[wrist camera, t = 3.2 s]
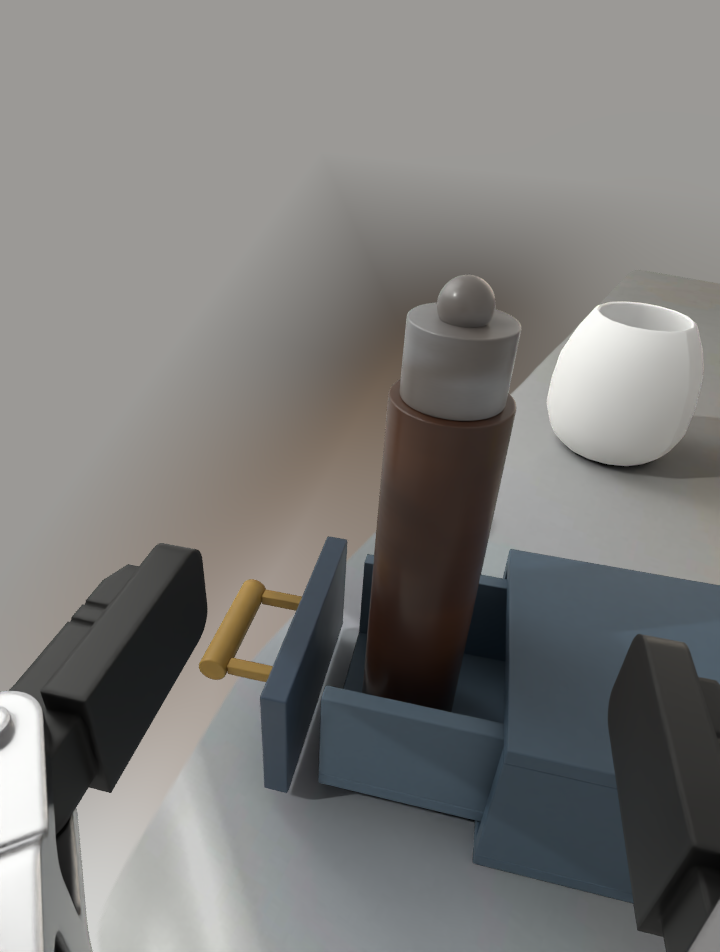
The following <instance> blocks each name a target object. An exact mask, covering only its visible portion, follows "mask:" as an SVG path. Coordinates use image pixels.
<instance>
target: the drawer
mask: <svg viewBox="0 0 720 952" xmlns="http://www.w3.org/2000/svg"><path fill="white" fill-rule="evenodd" d="M346 555H347V540H346V539H340V538H335V537H327V540H326V541H325V544H324V546H323V549H322V551H321V553H320V556H319V558H318V560H317V563H316V565H315V568H314V570H313V572H312V575H311V578H310V579H309V582H308V584H307V587H306V589H305V591H304V594H303V596H302V597H301V596H296V595H290V594H286V593H281V592H275V591H270V590H266V588H265V586H264V585H263V584H262V583H261V582H259V581H257V580H253V579H252V580H251V579H250V580H247V581H245V582H244V583H243V585H242V587H241V589H240V591H239V593H238V594H237V596H236V598H235V600H234V601H233V603H232V605H231V607H230V609H229V611H228V612H227V614H226V616H225V618H224V620H223V621H222V623H221V625H220V627H219V629H218V630H217V633H216V634H215V636H214V638H213V640H212V641H211V643H210V645H209V647H208V649H207V650H206V652H205V654H204V656H203V658H202V659H201V662H200V663H199V669H200V671H201V672H202V674H204V675H205V676H206V677H208V678H210V679H214V680H219V679H222V678H223V677H225V675H226V673H227V671H228V674H232V675H236V676H240V677H245V678H249V679H254V680H259V681H263V682H266V684H265V686H264V689H263V691H262V693H261V696H260V705H261V726H262V746H263V767H264V787H265V788H268V789H272V790H277V791H281V792H285V793H287V792H288V790H289V787H290V784H291V781H292V778H293V775H294V772H295V769H296V766H297V763H298V760H299V756H300V753H301V750H302V747H303V744H304V741H305V738H306V735H307V732H308V729H309V726H310V723H311V720H312V716H313V713H314V710H315V707H316V704H317V701H318V698H319V695H320V692H321V689H322V686H323V683H324V679H325V676H326V673H327V670H328V667H329V664H330V661H331V658H332V655H333V652H334V649H335V646H336V642H337V639H338V636H339V633H340V630H341V627H342V624H343V609H344V591H345V574H346ZM373 564H374V555H370V554H367V557H366V560H365V564H364V577H363V590H362V602H361V615H360V628H359V635H358V638H357V642H356V645H355V649H354V652H353V656H352V659H351V663H350V666H349V670H348V673H347V677H346V680H345V683H344V687H343V689H341V688H336V687H332V686H325V688H324V692H323V695H322V698H321V718H320V747H319V777H318V781H319V783H322V784H326V785H331V786H335V787H339V788H343V789H347V790H351V791H356V792H360V793H364V794H368V795H372V796H376V797H381V798H385V799H389V800H393V801H397V802H401V803H405V804H410V805H414V806H418V807H422V808H426V809H430V810H435V811H439V812H443V813H447V814H451V815H455V816H460V817H464V818H468V819H472V820H476V821H480V822H481V820H482V817H483V814H484V810H485V807H486V804H487V800H488V797H489V794H490V790H491V787H492V784H493V780H494V777H495V774H496V770H497V767H498V764H499V761H500V757H501V754H502V751H503V748H504V716H505V663H506V610H507V579H502V578H496V577H491V576H486V575H481V576H480V581H479V585H478V590H477V595H476V599H475V604H474V609H473V613H472V618H471V623H470V627H469V632H468V637H467V641H466V646H465V651H464V655H463V660H462V665H461V669H460V674H459V679H458V683H457V688H456V693H455V697H454V702H453V707H452V711H451V712H447V711H443V710H438V709H434V708H429V707H424V706H420V705H415V704H410V703H406V702H401V701H397V700H392V699H387V698H383V697H378V696H373V695H369V694H364V693H362V688H363V677H364V666H365V654H366V643H367V632H368V620H369V609H370V598H371V587H372V575H373ZM261 602H262V604H265V605H271V606H275V607H280V608H285V609H291V610H296V613H295V615H294V617H293V620H292V622H291V625H290V627H289V629H288V632H287V634H286V636H285V639H284V641H283V644H282V646H281V648H280V651H279V653H278V655H277V658H276V660H275V663H274V665H273V666H269V665H264V664H259V663H255V662H250V661H245V660H240V659H236V658H234V657H235V655H236V653H237V651H238V649H239V647H240V645H241V643H242V641H243V639H244V637H245V635H246V633H247V631H248V629H249V627H250V625H251V623H252V621H253V619H254V617H255V615H256V612H257V611H258V609H259V606H260V604H261Z"/></svg>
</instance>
